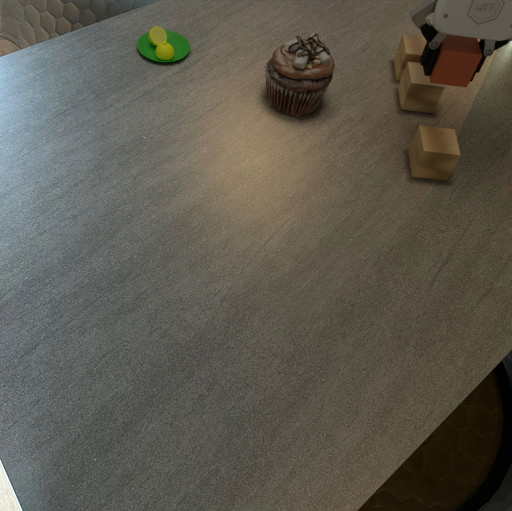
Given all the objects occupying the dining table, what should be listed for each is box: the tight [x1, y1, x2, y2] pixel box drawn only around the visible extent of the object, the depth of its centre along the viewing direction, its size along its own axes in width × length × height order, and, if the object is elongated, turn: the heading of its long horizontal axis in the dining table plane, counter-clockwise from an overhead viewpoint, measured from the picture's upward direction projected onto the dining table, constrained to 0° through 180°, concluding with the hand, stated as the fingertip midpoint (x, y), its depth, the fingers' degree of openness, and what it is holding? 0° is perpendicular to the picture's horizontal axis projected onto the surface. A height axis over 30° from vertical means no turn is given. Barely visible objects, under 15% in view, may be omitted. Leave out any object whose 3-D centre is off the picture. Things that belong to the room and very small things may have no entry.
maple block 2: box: [397, 62, 446, 114], centre depth 94 cm, size 5×5×5 cm
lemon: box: [136, 25, 191, 63], centre depth 95 cm, size 8×8×3 cm
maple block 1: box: [392, 33, 427, 82], centre depth 98 cm, size 5×5×5 cm
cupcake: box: [264, 32, 336, 117], centre depth 89 cm, size 10×10×10 cm
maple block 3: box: [407, 124, 461, 182], centre depth 86 cm, size 5×5×5 cm
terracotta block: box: [429, 34, 482, 88], centre depth 82 cm, size 5×5×5 cm
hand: (446, 71), depth 83 cm, fingers closed on terracotta block, 5 cm apart
